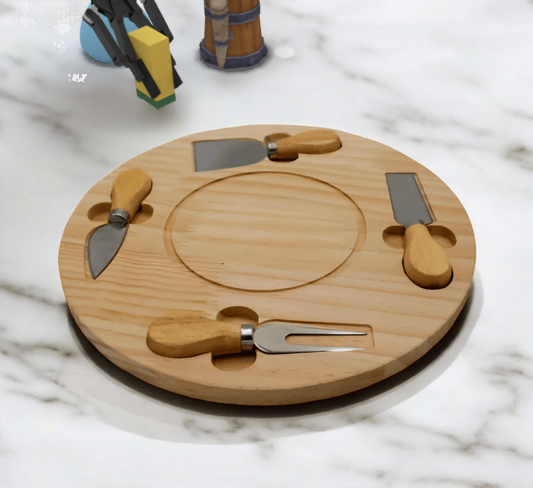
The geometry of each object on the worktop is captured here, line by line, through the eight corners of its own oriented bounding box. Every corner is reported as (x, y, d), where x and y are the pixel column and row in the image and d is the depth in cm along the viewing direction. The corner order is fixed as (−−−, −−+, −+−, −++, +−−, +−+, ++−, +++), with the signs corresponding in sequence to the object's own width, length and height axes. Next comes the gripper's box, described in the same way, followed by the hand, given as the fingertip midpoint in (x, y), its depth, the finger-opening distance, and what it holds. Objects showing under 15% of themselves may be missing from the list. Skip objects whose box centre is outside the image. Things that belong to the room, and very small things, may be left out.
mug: (257, 88, 124) (257, -16, 110) (184, 81, 126) (174, -22, 112) (274, 40, 138) (275, -58, 124) (207, 34, 140) (201, -63, 126)
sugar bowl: (107, 26, 142) (97, -27, 134) (168, 39, 138) (162, -15, 130) (68, 58, 132) (55, 3, 124) (133, 72, 128) (124, 16, 120)
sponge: (136, 95, 117) (126, 33, 108) (155, 87, 119) (146, 25, 110) (157, 109, 113) (148, 46, 105) (176, 100, 115) (169, 37, 107)
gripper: (131, -37, 116) (197, 80, 119) (46, -9, 108) (120, 117, 111) (145, -60, 110) (214, 65, 113) (56, -32, 101) (133, 103, 104)
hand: (167, 90), depth 112 cm, fingers closed on sponge, 4 cm apart
